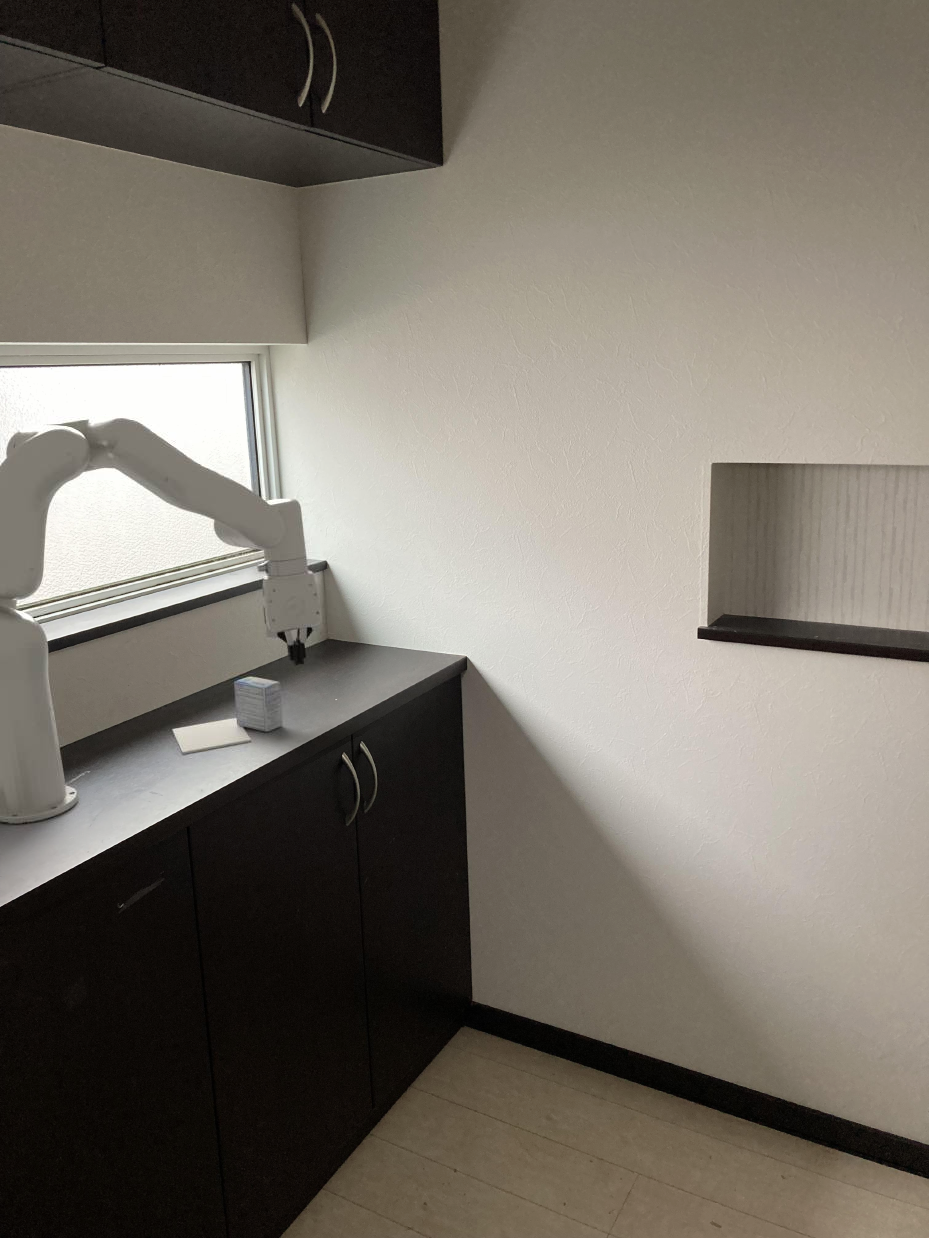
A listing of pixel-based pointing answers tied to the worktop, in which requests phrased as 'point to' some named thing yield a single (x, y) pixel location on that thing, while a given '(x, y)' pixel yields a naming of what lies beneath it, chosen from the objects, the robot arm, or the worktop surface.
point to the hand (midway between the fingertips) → (298, 662)
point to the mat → (210, 735)
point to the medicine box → (258, 703)
